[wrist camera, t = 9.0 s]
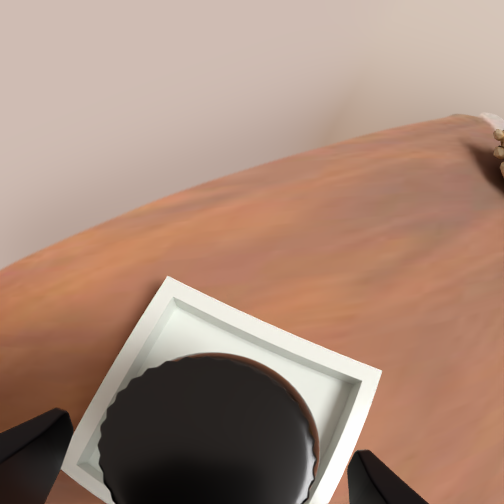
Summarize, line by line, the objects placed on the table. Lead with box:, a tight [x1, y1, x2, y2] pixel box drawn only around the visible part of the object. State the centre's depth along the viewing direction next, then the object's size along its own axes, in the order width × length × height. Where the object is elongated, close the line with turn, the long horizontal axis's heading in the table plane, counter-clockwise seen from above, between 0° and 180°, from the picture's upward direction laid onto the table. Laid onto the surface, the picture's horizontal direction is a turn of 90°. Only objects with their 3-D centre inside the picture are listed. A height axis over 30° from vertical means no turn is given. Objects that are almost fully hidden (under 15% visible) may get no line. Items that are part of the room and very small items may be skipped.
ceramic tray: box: [61, 276, 382, 504], centre depth 15 cm, size 14×14×2 cm
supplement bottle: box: [97, 352, 320, 504], centre depth 10 cm, size 7×7×12 cm
